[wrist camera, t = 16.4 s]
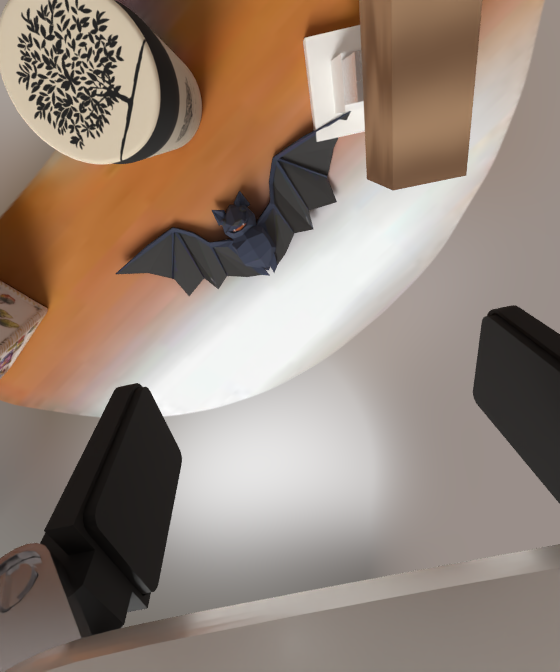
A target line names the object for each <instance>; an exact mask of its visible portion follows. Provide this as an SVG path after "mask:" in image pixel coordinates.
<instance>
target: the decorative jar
mask: <svg viewBox="0 0 560 672" xmlns="http://www.w3.org/2000/svg"><path fill="white" fill-rule="evenodd" d="M47 311H48V309H47V308H46V307H44V306H43V305H41V304H39V303H37V302H36V301H34V300H32V299H31V298H29V297H27V296H26V295H24V294H22V293H21V292H19V291H17V290H16V289H14V288H12V287H10V286H9V285H7V284H5V283H3V282H2V281H0V379H1V378H2V377H3V376H4V374H5V373H6V372H7V371H8V370H9V369H10V367H11V366H12V364H13V363H14V362H15V360H16V358H17V357H18V355H19V354H20V352H21V351H22V350H23V348H24V346H25V345H26V344H27V342H28V341H29V339H30V338H31V336H32V335H33V333H34V332H35V330H36V328H37V327H38V325H39V324H40V322H41V321H42V319H43V318H44V316H45V315H46V313H47Z"/></svg>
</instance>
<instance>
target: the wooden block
mask: <svg viewBox="0 0 560 672" xmlns="http://www.w3.org/2000/svg"><path fill="white" fill-rule="evenodd" d="M359 10H360V32H361V55H362V78H363V100H364V123H365V145H366V168H367V179H368V180H370V181H373V182H375V183H377V184H380V185H382V186H384V187H386V188H389V189H391V190H397V189H402V188H407V187H412V186H417V185H422V184H427V183H431V182H436V181H441V180H446V179H451V178H456V177H461V176H466V172H467V161H468V150H469V139H470V129H471V118H472V107H473V96H474V86H475V75H476V64H477V53H478V42H479V32H480V21H481V10H482V0H359Z"/></svg>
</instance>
